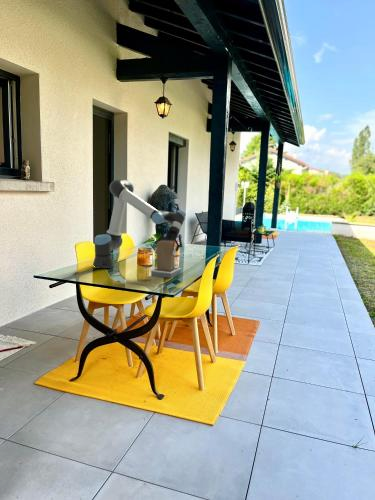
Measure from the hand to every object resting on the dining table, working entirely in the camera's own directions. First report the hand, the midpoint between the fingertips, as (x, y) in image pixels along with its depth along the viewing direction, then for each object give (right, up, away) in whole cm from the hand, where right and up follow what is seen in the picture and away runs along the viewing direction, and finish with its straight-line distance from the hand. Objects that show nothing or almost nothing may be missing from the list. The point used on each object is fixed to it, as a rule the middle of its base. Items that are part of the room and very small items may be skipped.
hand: (164, 253), depth 252 cm
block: (0, -11, +4) cm, 12 cm away
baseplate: (+1, -14, +5) cm, 15 cm away
